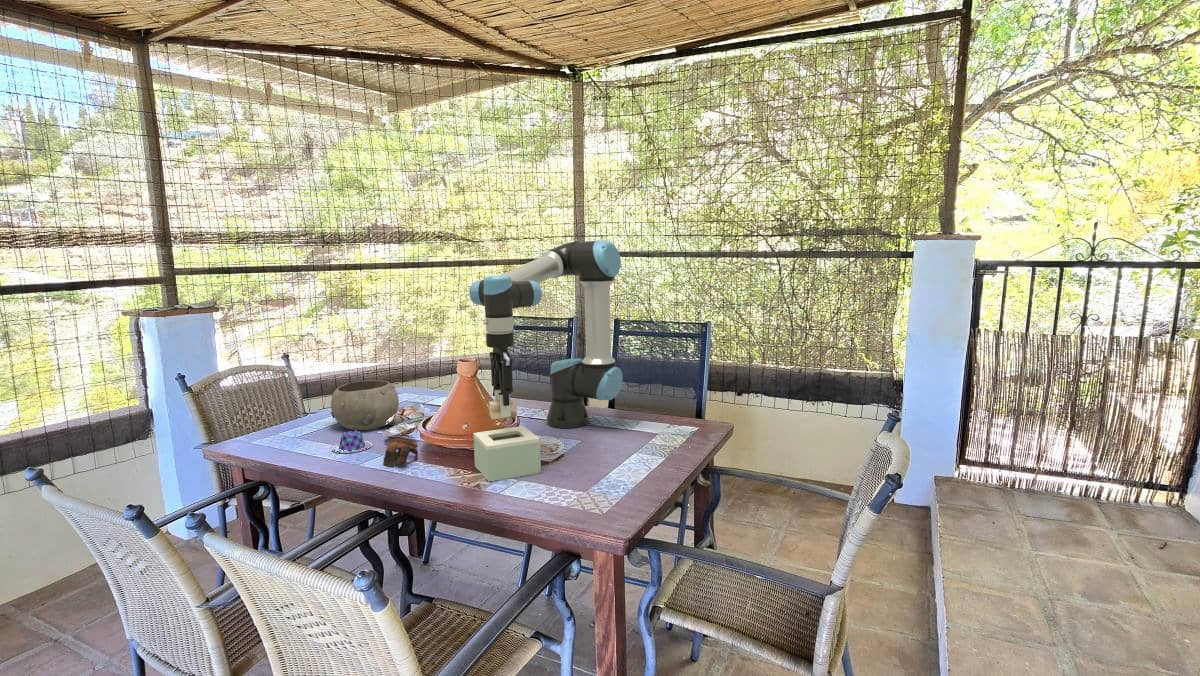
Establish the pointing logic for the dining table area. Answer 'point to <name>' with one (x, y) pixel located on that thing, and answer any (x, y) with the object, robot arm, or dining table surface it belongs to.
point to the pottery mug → (399, 452)
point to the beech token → (495, 409)
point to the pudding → (352, 441)
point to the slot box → (507, 453)
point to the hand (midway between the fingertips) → (503, 414)
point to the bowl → (364, 404)
